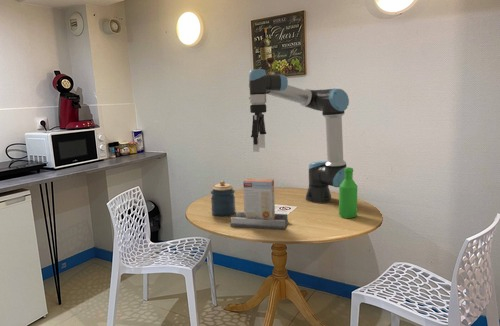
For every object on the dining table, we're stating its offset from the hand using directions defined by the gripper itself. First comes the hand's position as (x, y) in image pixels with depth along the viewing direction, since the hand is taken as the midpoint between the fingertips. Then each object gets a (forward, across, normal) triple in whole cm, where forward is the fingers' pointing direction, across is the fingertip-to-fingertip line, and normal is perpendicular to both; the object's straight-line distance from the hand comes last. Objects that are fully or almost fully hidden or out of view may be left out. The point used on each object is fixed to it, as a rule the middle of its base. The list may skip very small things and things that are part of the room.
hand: (259, 149), depth 163 cm
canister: (+36, -13, -23) cm, 45 cm away
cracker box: (+36, +1, 0) cm, 36 cm away
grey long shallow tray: (+36, +2, 0) cm, 36 cm away
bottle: (+37, -17, +42) cm, 58 cm away
